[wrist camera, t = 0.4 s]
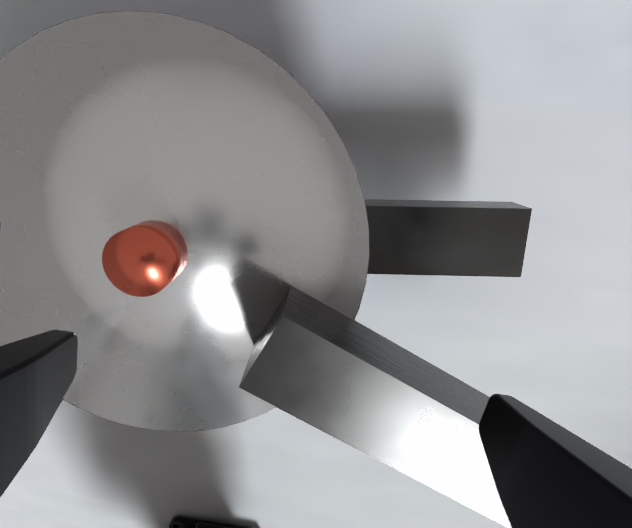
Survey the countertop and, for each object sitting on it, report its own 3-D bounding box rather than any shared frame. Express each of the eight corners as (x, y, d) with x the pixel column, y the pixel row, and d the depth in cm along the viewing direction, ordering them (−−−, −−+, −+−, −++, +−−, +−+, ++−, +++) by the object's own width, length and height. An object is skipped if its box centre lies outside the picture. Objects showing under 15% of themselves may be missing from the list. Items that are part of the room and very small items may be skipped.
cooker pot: (46, 332, 26) (-54, 400, 19) (-4, 67, 21) (-154, 32, 15) (464, 342, 25) (514, 415, 18) (499, 73, 21) (581, 40, 14)
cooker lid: (-85, 307, 18) (-198, 353, 14) (46, -83, 14) (-63, -171, 10) (406, 549, 21) (423, 641, 17) (632, 292, 17) (722, 337, 13)
